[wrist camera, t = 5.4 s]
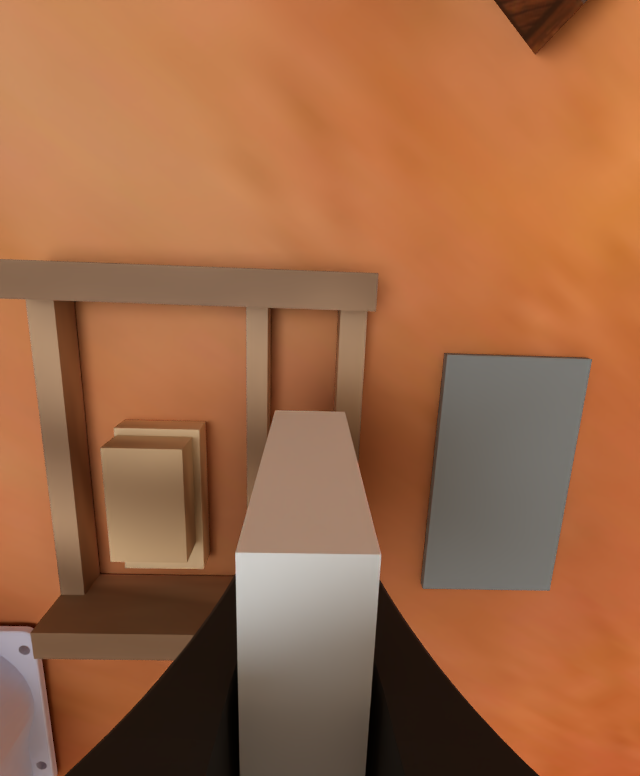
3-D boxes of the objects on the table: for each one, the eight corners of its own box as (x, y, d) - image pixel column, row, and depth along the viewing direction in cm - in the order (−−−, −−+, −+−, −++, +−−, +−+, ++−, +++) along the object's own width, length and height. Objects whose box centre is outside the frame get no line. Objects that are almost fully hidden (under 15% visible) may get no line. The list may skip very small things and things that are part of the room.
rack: (346, 599, 21) (353, 662, 17) (80, 595, 20) (33, 658, 17) (365, 275, 17) (378, 273, 14) (44, 263, 17) (-24, 258, 13)
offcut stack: (211, 549, 20) (195, 591, 17) (137, 548, 20) (110, 590, 17) (207, 419, 19) (189, 441, 16) (128, 417, 19) (96, 440, 16)
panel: (333, 663, 13) (350, 970, 7) (274, 663, 13) (243, 971, 7) (345, 411, 11) (381, 555, 5) (275, 410, 11) (235, 552, 5)
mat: (545, 584, 21) (549, 590, 20) (420, 582, 20) (422, 588, 20) (586, 357, 18) (592, 359, 18) (444, 353, 18) (447, 354, 18)
